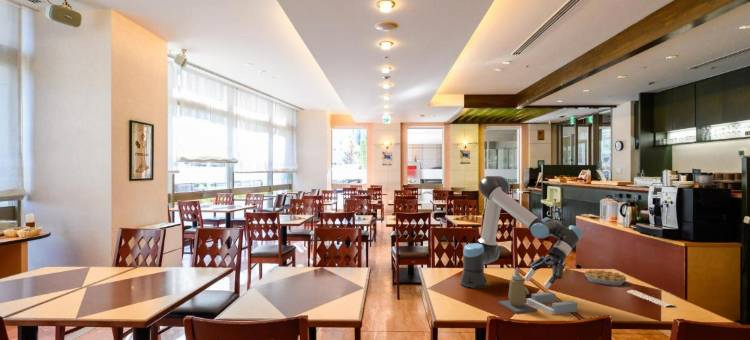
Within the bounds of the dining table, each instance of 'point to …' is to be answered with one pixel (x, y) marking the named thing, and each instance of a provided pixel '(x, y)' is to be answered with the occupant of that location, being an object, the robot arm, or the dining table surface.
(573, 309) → the grey u-shaped frame
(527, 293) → the chocolate bunny
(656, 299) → the newspaper
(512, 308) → the rubber mat
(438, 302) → the dining table surface
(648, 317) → the dining table surface
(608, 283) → the pie
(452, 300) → the dining table surface
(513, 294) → the squeeze bottle
